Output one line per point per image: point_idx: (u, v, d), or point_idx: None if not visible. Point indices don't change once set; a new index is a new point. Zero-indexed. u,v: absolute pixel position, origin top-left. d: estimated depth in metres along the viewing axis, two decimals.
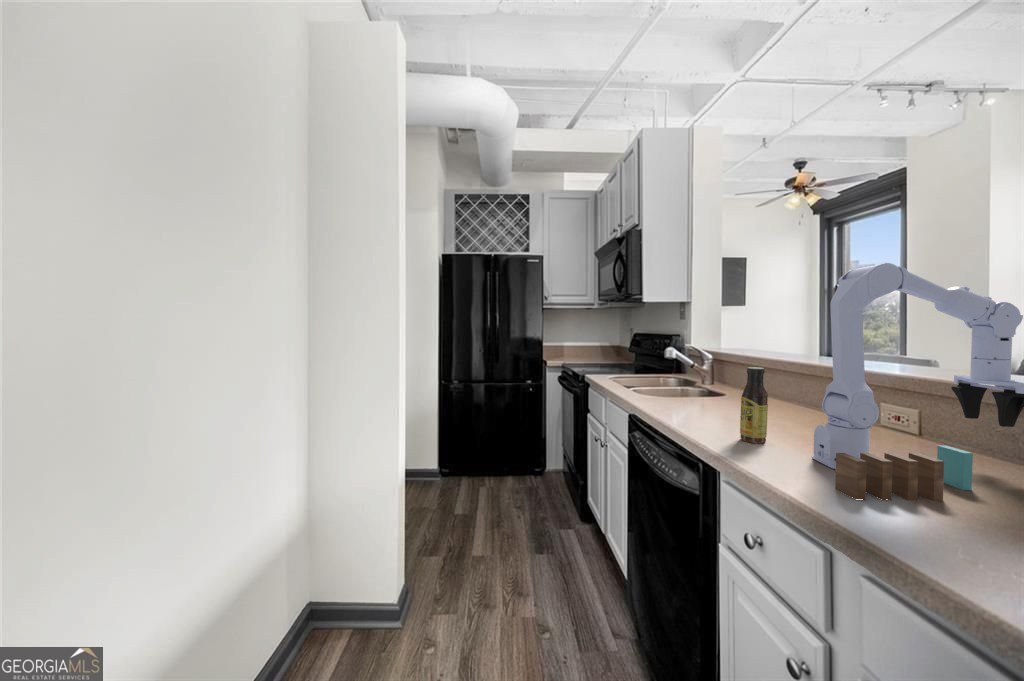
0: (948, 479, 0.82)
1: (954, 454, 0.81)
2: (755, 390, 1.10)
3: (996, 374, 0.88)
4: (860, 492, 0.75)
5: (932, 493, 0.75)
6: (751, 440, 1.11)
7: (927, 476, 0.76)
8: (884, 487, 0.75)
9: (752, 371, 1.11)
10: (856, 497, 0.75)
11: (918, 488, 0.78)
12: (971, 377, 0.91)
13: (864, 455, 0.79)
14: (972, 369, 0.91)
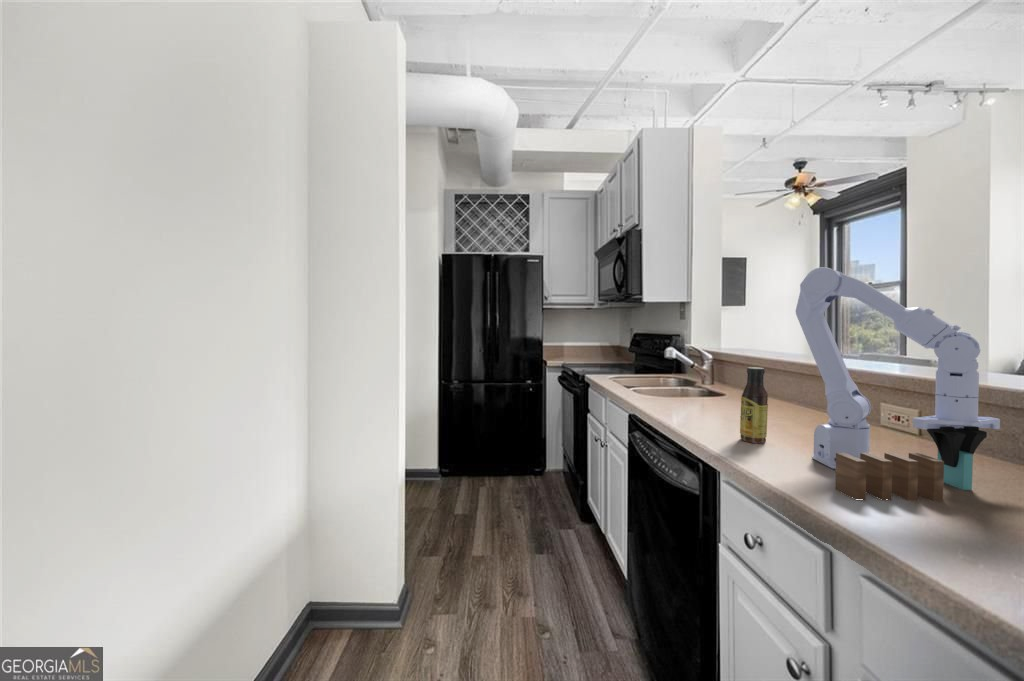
0: (948, 480, 0.82)
1: None
2: (755, 390, 1.10)
3: (936, 410, 0.82)
4: (860, 492, 0.75)
5: (932, 493, 0.75)
6: (751, 440, 1.11)
7: (927, 476, 0.76)
8: (884, 487, 0.75)
9: (752, 371, 1.11)
10: (856, 497, 0.75)
11: (918, 488, 0.78)
12: None
13: (864, 455, 0.79)
14: None
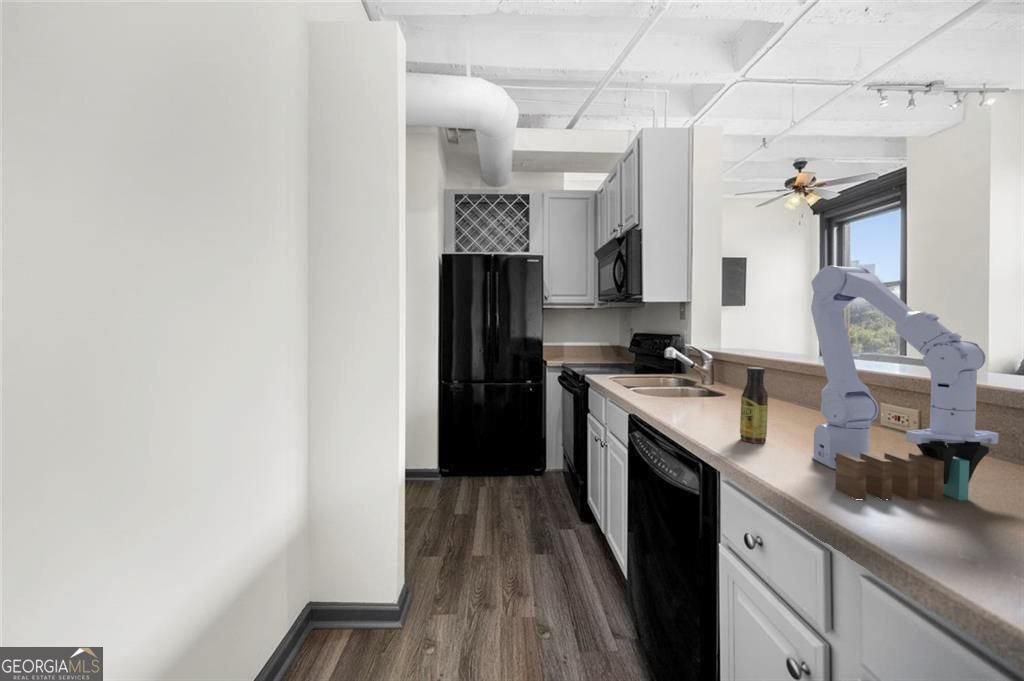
0: (943, 488, 0.77)
1: None
2: (755, 390, 1.10)
3: (931, 423, 0.78)
4: (860, 492, 0.75)
5: (932, 493, 0.75)
6: (751, 440, 1.11)
7: (927, 476, 0.76)
8: (884, 487, 0.75)
9: (752, 371, 1.11)
10: (856, 497, 0.75)
11: (918, 488, 0.78)
12: None
13: (864, 455, 0.79)
14: None
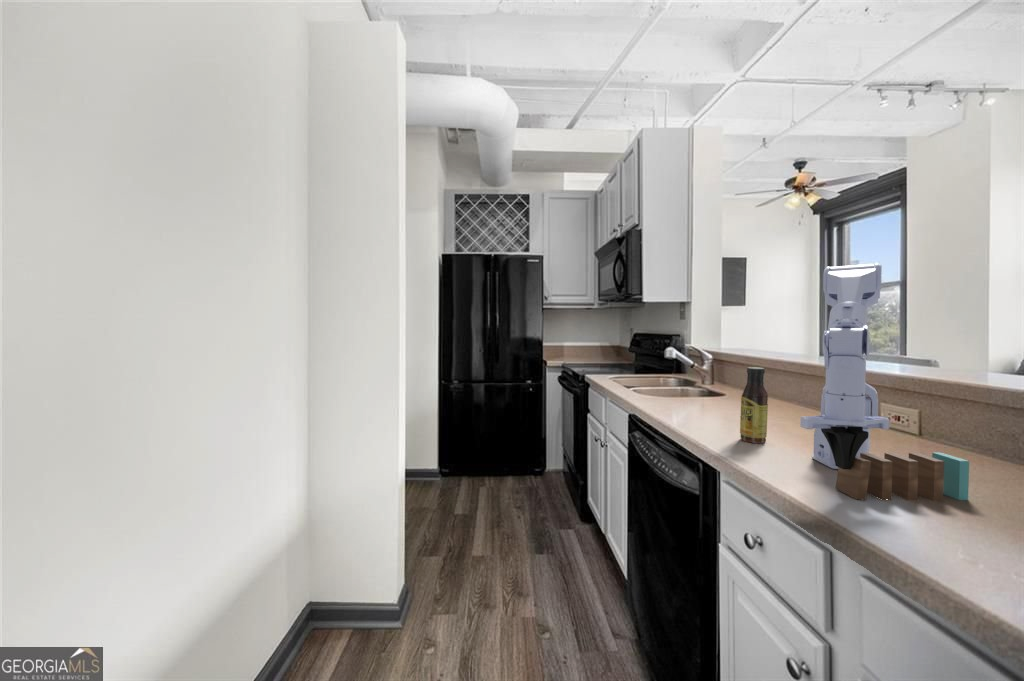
0: (943, 488, 0.77)
1: (950, 461, 0.76)
2: (755, 390, 1.10)
3: (825, 409, 0.78)
4: (861, 491, 0.75)
5: (932, 493, 0.75)
6: (751, 440, 1.11)
7: (927, 476, 0.76)
8: (884, 487, 0.75)
9: (752, 371, 1.11)
10: (856, 496, 0.75)
11: (918, 488, 0.78)
12: None
13: (864, 455, 0.79)
14: None
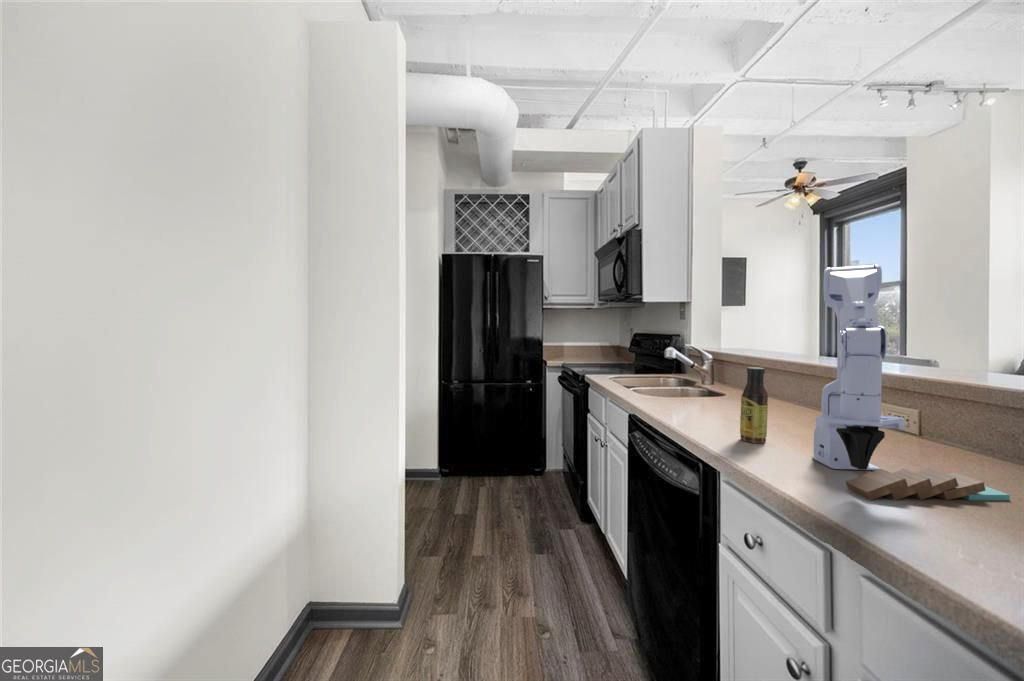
0: None
1: (994, 490, 0.76)
2: (755, 390, 1.10)
3: (840, 409, 0.78)
4: (876, 492, 0.75)
5: None
6: (751, 440, 1.11)
7: (958, 483, 0.76)
8: (905, 489, 0.75)
9: (752, 371, 1.11)
10: (869, 491, 0.75)
11: None
12: None
13: (907, 471, 0.79)
14: None
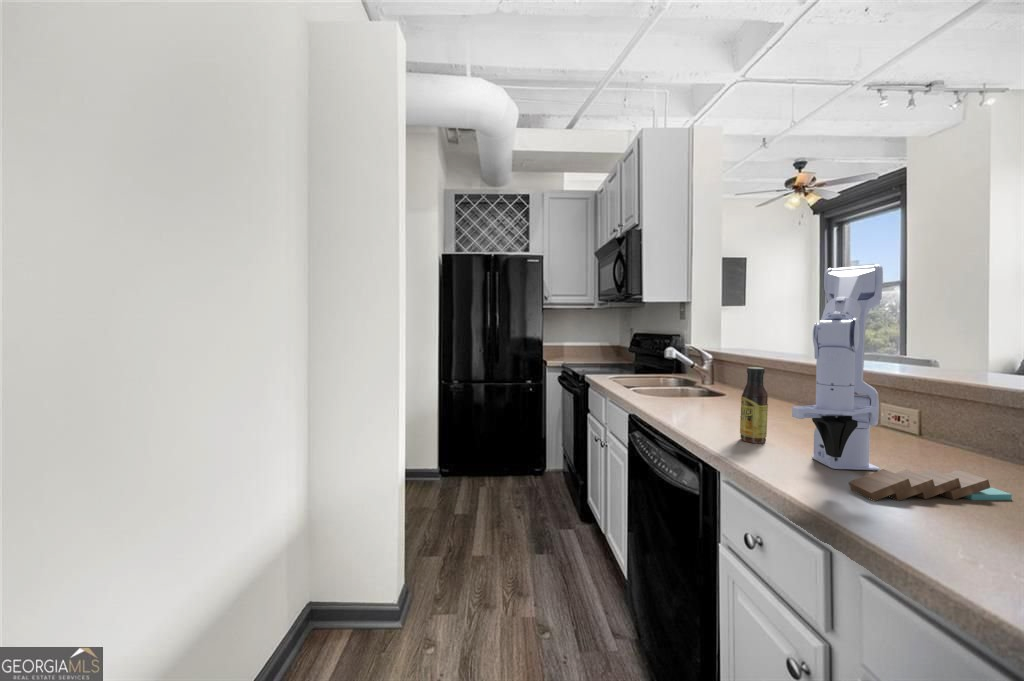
0: None
1: (996, 490, 0.76)
2: (755, 390, 1.10)
3: (816, 399, 0.80)
4: (880, 493, 0.74)
5: None
6: (751, 440, 1.11)
7: (963, 482, 0.76)
8: (908, 489, 0.75)
9: (752, 371, 1.11)
10: (873, 492, 0.74)
11: None
12: None
13: (909, 471, 0.79)
14: None
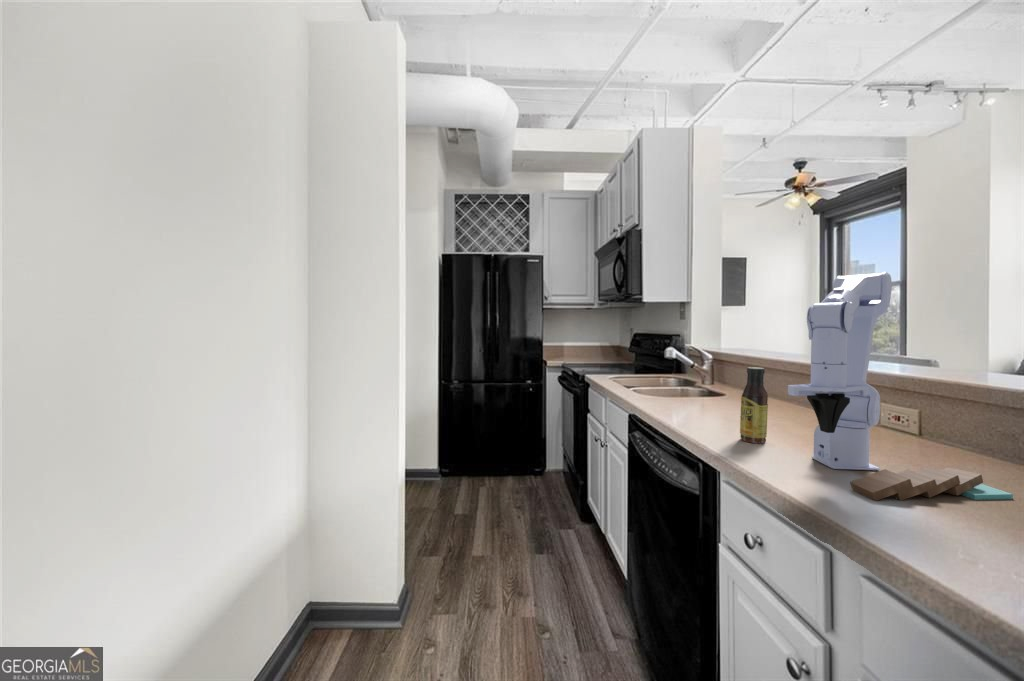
0: None
1: (997, 490, 0.77)
2: (755, 390, 1.10)
3: (811, 378, 0.85)
4: (881, 493, 0.74)
5: None
6: (751, 440, 1.11)
7: (960, 478, 0.78)
8: (911, 489, 0.75)
9: (752, 371, 1.11)
10: (875, 491, 0.74)
11: None
12: None
13: (911, 471, 0.79)
14: None
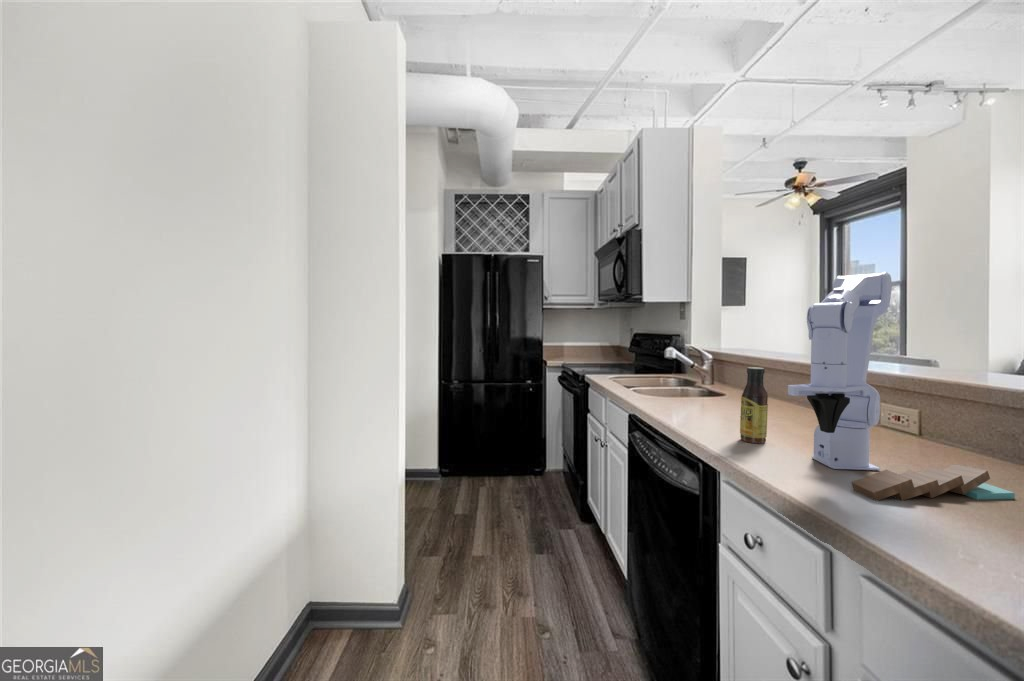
0: None
1: (999, 489, 0.77)
2: (755, 390, 1.10)
3: (811, 378, 0.85)
4: (882, 493, 0.74)
5: None
6: (751, 440, 1.11)
7: (966, 475, 0.78)
8: (913, 489, 0.75)
9: (752, 371, 1.11)
10: (876, 491, 0.75)
11: None
12: None
13: (914, 472, 0.79)
14: None
